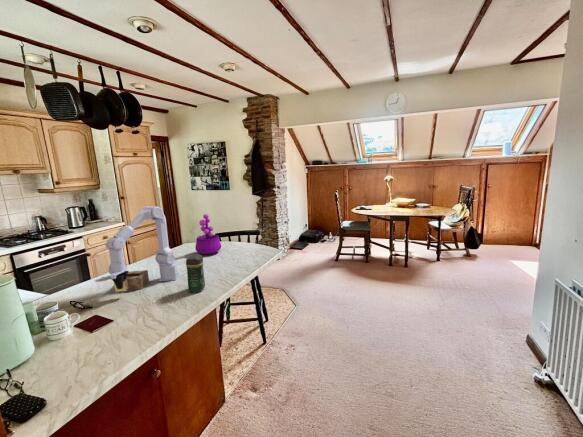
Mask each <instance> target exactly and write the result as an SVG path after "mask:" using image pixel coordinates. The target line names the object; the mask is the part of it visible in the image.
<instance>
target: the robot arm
mask: <svg viewBox="0 0 583 437" xmlns="http://www.w3.org/2000/svg"><path fill="white" fill-rule="evenodd" d="M146 220H152V221H154V223H155V227H156V228H155V229H156V237H157V250H156V251H155V253H156V254H155V262H156V263H157V264H158V266H159V276H160V278H159V280H158V282H167V281H170V282H171V281H176V280H177V279H178V277H179V270H178V263H175V261H176V260H175V259H176V257H175V254H174V252H173V250H172V249H171V248H170V245H169V237H168V226H167V219H166V216H165V214H164V210H163V208H162V207H160V206H157V205H156V206H148V205H145V206H143V207H142V208H141V209H140V210H139V211H138V214H137V215H136V216H135V217H134V218H133V219H132V221H131V220H130V221H131V222H129V224H128V225H124V226H120V229H119V231H117V232H116V233H115V234H114V235H113V237H109V238H108V239H107V240H106V243H105V247H106V249H108V252H109V259H110V264H111V266H112V270H111V271H110V273H111V272H112V273H111V274H110V273H109V275H110V280H111V281H112V282H113V284H114V283H115V285H116V287H117V289H122V288H123V279H126V277H127V274H128V272H129V270H128V265H127V264H125V262H126V261H125V256H124V250H123V248H125V244H126V242H127V241H128V240H129V239H130V238H131V237H132V236H133V235H134V231H135V229H136V228H137V227H138V226H140V225H141V224H142V223H143V222H144V221H146Z"/></svg>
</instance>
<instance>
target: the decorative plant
mask: <svg viewBox="0 0 583 437" xmlns="http://www.w3.org/2000/svg"><path fill="white" fill-rule="evenodd" d="M202 217H203V219H201V220H200V221H199V222H198V223H199V226H201V227H200V231H201V232H203V234H202V235H199V236H197V237H196V240H195V251H196V252H197V253H198V254H200V255H212V254H215V253H217V252H219V251H220V250H221V249H222V243H221V240H220V237H219V235H218V234H214V233H213V231H214V226H209V223H211V219H210V218H209V215H208V214H207V213H204V214H203V216H202Z"/></svg>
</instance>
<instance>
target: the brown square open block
mask: <svg viewBox="0 0 583 437" xmlns="http://www.w3.org/2000/svg"><path fill="white" fill-rule="evenodd" d="M126 279H127V282H128V289H127V290H126V291H137V290H143V288H144V287H145V286H146V285H147V284H148V283H149V281H150V278H149V271H148V270H147V269H146V270H145V269H144V270H143V269H142V270H132V271H128V274H127V277H126ZM126 291H125V292H126Z"/></svg>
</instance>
